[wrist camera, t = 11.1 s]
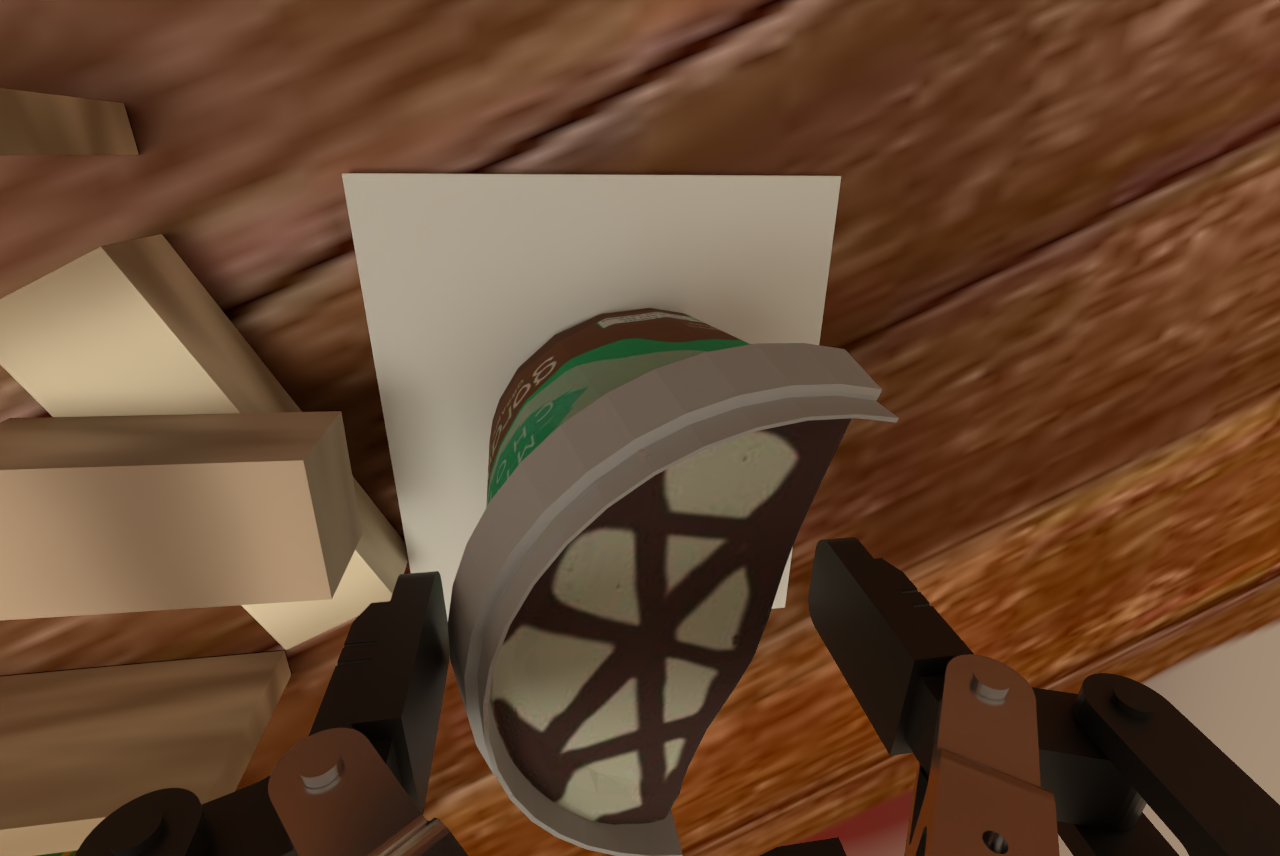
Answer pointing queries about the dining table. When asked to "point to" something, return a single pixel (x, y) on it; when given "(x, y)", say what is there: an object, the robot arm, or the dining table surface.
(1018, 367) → the dining table surface
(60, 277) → the offcut lower
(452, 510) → the mat
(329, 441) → the offcut upper
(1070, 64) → the dining table surface
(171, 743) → the frame
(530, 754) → the food container
